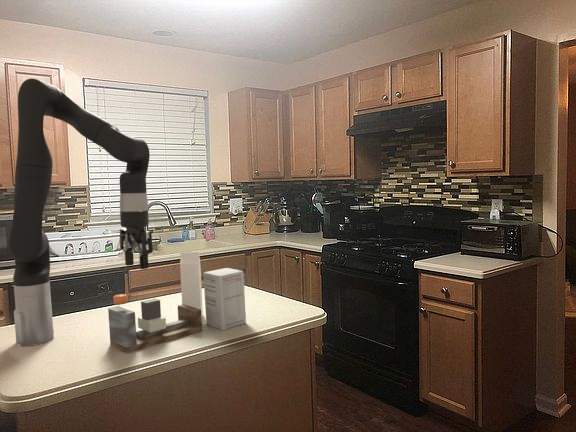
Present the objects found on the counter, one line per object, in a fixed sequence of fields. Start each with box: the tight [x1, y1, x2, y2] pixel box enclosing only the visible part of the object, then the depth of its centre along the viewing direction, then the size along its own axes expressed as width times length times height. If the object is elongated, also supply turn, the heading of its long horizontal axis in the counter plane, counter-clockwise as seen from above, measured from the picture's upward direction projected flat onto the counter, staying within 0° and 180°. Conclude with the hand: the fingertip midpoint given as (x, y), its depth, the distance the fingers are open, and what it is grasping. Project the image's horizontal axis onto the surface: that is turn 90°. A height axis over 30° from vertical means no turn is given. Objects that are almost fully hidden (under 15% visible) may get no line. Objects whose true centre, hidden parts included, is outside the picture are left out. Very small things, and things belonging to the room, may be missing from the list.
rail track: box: [107, 303, 203, 354], centre depth 137 cm, size 24×10×10 cm, turn 135°
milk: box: [179, 251, 204, 319], centre depth 156 cm, size 6×6×22 cm
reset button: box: [113, 293, 128, 306], centre depth 129 cm, size 4×4×2 cm
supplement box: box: [202, 267, 247, 331], centre depth 148 cm, size 10×9×17 cm
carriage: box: [137, 297, 167, 332], centre depth 136 cm, size 5×7×8 cm
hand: (136, 266), depth 133 cm, fingers open, 8 cm apart
